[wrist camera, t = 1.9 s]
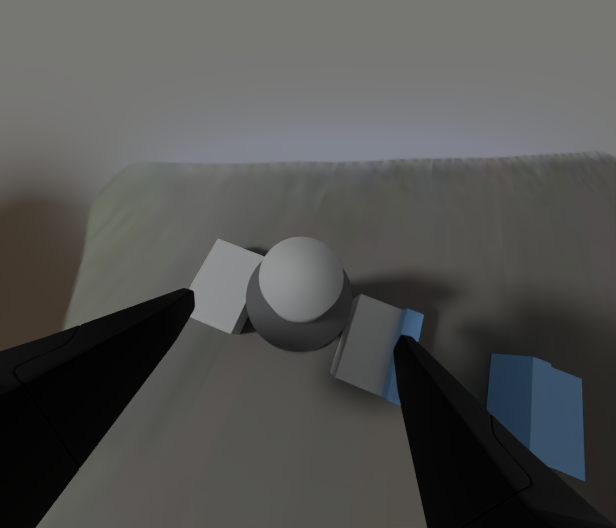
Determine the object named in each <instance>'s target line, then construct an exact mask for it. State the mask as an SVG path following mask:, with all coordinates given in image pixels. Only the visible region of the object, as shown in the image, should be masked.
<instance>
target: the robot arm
mask: <svg viewBox="0 0 616 528" xmlns="http://www.w3.org/2000/svg"><path fill="white" fill-rule="evenodd" d="M194 309H195V296H194V291H193V290H191V289H186V288H182V289H179V290H177V291H174V292H171V293H168V294H165V295H163V296H160V297H157V298H154V299H151V300H149V301H146V302H143V303H140V304H137V305H135V306H132V307H129V308H126V309H123V310H120V311H118V312H115V313H112V314H109V315H106V316H104V317H101V318H98V319H95V320H92V321H90V322H87V323H84V324H81V326H75V327H73V328H70V329H67V330H64V331H61V332H58V333H56V334H53V335H50V336H47V337H44V338H41V339H38V340H35V341H31V342H28V343H25V344H22V345H19V346H16V347H12V348H9V349H6V350H3V351H0V528H36V526H37V525H38V524H39V522H40V521H41V520H42V518H43V517H44V516H45V514H46V513H47V512H48V510H49V509H50V508H51V506H52V505H53V504H54V502H55V501H56V500H57V498H58V497H59V496H60V494H61V493H62V492H63V490H64V489H65V488H66V486H67V485H68V484H69V482H70V481H71V480H72V478H73V477H74V476H75V474H76V473H77V472H78V470H79V468H80V467H81V466H82V465H83V463H84V462H85V461H86V459H87V458H88V457H89V455H90V454H91V453H92V451H93V450H94V449H95V447H96V446H97V445H98V443H99V442H100V441H101V439H102V438H103V437H104V435H105V434H106V433H107V431H108V430H109V429H110V428H111V426H112V425H113V424H114V422H115V421H116V420H117V418H118V417H119V416H120V414H121V413H122V412H123V410H124V409H125V408H126V406H127V405H128V404H129V402H130V401H131V400H132V398H133V397H134V396H135V394H136V393H137V392H138V390H139V389H140V388H141V386H142V385H143V384H144V382H145V381H146V380H147V378H148V377H149V376H150V374H151V373H152V372H153V370H154V369H155V368H156V366H157V365H158V364H159V362H160V361H161V360H162V358H163V357H164V356H165V354H166V353H167V352H168V350H169V349H170V348H171V346H172V345H173V344H174V342H175V341H176V339H177V338H178V336H179V334H180V333H181V331H182V329H183V328H184V326H185V324H186V323H187V321H188V319H189V318H190V316H191V314H192V313H193V311H194ZM393 356H394V365H395V374H396V383H397V390H398V395H399V400H400V405H401V409H402V414H403V418H404V423H405V427H406V432H407V437H408V441H409V446H410V450H411V455H412V460H413V464H414V469H415V473H416V478H417V483H418V487H419V492H420V496H421V501H422V506H423V510H424V515H425V519H426V524H427V528H616V525H615V524H613V523H612V522H611V521H609V520H608V519H607V518H606V517H604V516H603V515H602V514H601V513H600V512H599V511H597V510H596V509H595V508H594V507H593V506H592V505H591V504H589V503H588V502H587V501H586V500H585V499H584V498H583V497H582V496H580V495H579V494H578V493H577V492H576V491H575V490H574V489H573V488H571V487H570V486H569V485H568V484H567V483H566V482H565V481H564V480H562V479H561V478H560V477H559V476H558V475H557V474H556V473H555V472H553V471H552V470H551V469H550V468H549V467H548V466H547V465H546V464H544V463H543V462H542V461H541V460H540V459H539V458H538V457H537V456H536V455H534V454H533V453H532V452H531V451H530V450H529V449H528V448H527V447H526V446H524V445H523V444H522V443H521V442H520V441H519V440H518V439H517V438H516V437H515V436H514V435H513V434H512V433H511V432H510V431H508V430H507V429H506V428H505V427H504V426H503V425H502V424H501V423H500V422H499V421H498V420H497V419H496V418H495V417H494V416H493V415H492V414H490V412H489V411H488V410H487V409H486V408H485V407H484V406H483V405H482V404H481V403H480V402H479V401H478V400H476V399H475V398H474V397H473V396H472V395H471V394H470V393H469V392H468V391H467V390H466V389H465V388H464V387H463V386H462V385H461V384H460V383H459V382H458V381H457V380H456V379H455V378H454V377H453V376H452V375H451V374H450V373H449V372H448V371H447V370H446V369H445V368H444V367H443V366H442V365H441V364H440V363H439V362H437V361H436V360H435V359H434V358H433V357H432V356H431V355H430V354H429V353H428V352H427V351H426V350H425V349H424V348H423V347H422V346H421V345H420V344H419V343H418V342H417V341H416V340H415V339H414V338H413V337H411V336H408V335H403V334H402V335H400V337H399V339H398V341H397V343H396V345H395V347H394V349H393Z"/></svg>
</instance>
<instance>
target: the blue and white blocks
mask: <svg viewBox="0 0 616 528" xmlns="http://www.w3.org/2000/svg"><path fill="white" fill-rule="evenodd" d="M263 259H264V256H262V255H259V254H256V253H254V252H251V251H249V250H246V249H243V248H241V247H238V246H236V245H233V244H231V243H228V242H225V241H223V240H220V239H217V241H216V243H215V245H214V246H213V248H212V250H211V252H210V253H209V255H208V257H207V258H206V260H205V262H204V264H203V265H202V267H201V269H200V271H199V272H198V274H197V276H196V277H195V279H194V281H193V283H192V284H191V286H190V288H189V289H191V290H193V291H194V296H195V309H194V311H193V313H192V314H191V316H190V317H191V318H193V319H196V320H198V321H201V322H203V323H205V324H208V325H210V326H213V327H215V328H217V329H220V330H222V331H225V332H227V333H229V334H239V335H240V332H241V330H242V328H243V326H244V324H245V322H246V320H247V317H248V312H247V308H246V291H247V286H248V282H249V279H250V277H251V275H252V273H253V272H254V270H255V268H256V267H257V266H258V265H259V263H260V262H261V261H262V260H263ZM423 317H424V314H421V313H418V312H416V311H413V310H411V309H408V308H407V309H403V310H402V309H399V308H397V307H394V306H391V305H389V304H386V303H384V302H381V301H378V300H376V299H373V298H371V297H368V296H365V295H363V294H360V295H358V296H357V297H355V298H354V299H353V300H352V309H351V313H350V316H349V319H348V321H347V323H346V325H345V327H344V328H343V332H342V335H341V338H340V341H339V344H338V347H337V350H336V354H335V357H334V360H333V363H332V366H331V369H330V373H331V374H332V375H333V376H334V377H335V378H337V379H340V380H342V381H345V382H347V383H349V384H352V385H354V386H357V387H359V388H361V389H364V390H366V391H369V392H371V393H373V394H376V395H378V396H381V397H382V398H384V399H385V400H387V401H390V402H392V403H394V404H397V405H399V406H401V405H400V400H399V395H398V390H397V383H396V374H395V365H394V356H393V349H394V347H395V345H396V343H397V341H398V339H399V337H400V335H402V334H403V335H408V336H411V337H413V338H414V339H415V340H416V341H417V342H419V337H420V332H421V327H422V322H423ZM486 409H487V410H488V411H489V412H490V414H492V415H493V416H494V417H495V418H496V419H497V420H498V421H499V422H500V423H501V424H502V425H503V426H504V427H505V428H506V429H507V430H508V431H510V432H511V433H512V434H513V435H514V436H515V437H516V438H517V439H518V440H519V441H520V442H521V443H522V444H523V445H524V446H526V447H527V448H528V449H529V450H530V451H531V452H532V453H533V454H534V455H536V456H537V457H538V458H539V459H540V460H541V461H542V462H543V463H544V464H546V465H547V466H548V467H549V468H550V467H551V468H554V469H556V470H558V471H561V472H563V473H566V474H568V475H570V476H573V477H575V478H578V479H580V480H582V481H585V460H584V430H583V401H582V379H581V378H578V377H576V376H573V375H570V374H568V373H565V372H563V371H560V370H557V369H555V368H552V367H551V363H549V362H546V361H543V360H541V359H538V358H535V357H532V356H520V355H507V354H495V353H492V355H491V365H490V376H489V387H488V397H487V408H486Z"/></svg>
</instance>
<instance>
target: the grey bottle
mask: <svg viewBox="0 0 616 528" xmlns="http://www.w3.org/2000/svg"><path fill="white" fill-rule="evenodd" d="M246 308H247V312H248V316H249V318H250V321H251V323H252V325H253V327H254V328H255V330H256V331H257V332H258V334H259V335H260V336H261V337H262V338H263V339H265V340H266V341H267V342H269V343H270V344H272V345H274V346H275V347H277V348H279V349H281V350H283V351H285V352H289V353H296V354H299V353H306V352H309V351H312V350H315V349H318V348H321V347H323V346H324V345H326V344H328V343H329V342H331V341H332V340H333V339H334V338H336V337H337V336H338V335H339V333H340V332H341V331H342V330H343V328H344V327H345V325H346V323H347V321H348V319H349V316H350V313H351V309H352V288H351V285H350V281H349V279H348V276H347V274H346V273H345V271H344V269H343V268H342V265H341V263H340V260H339V259H338V257H337V255H336V254H335V253H334V251H333V250H332V249H331V248H330V247H328V246H327V245H326V244H324V243H323V242H321V241H319V240H316V239H313V238H309V237H293V238H289V239H286V240H284V241H281V242H280V243H278V244H276V245H275V246H274V247H273V248H271V249H270V250H269V252H268V253H267V254H266V256H265V257H264V259H263V260H262V261H261V262H260V263H259V265H258V266H257V267H256V268H255V270H254V272H253V273H252V275H251V277H250V279H249V282H248V286H247V291H246Z"/></svg>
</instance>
